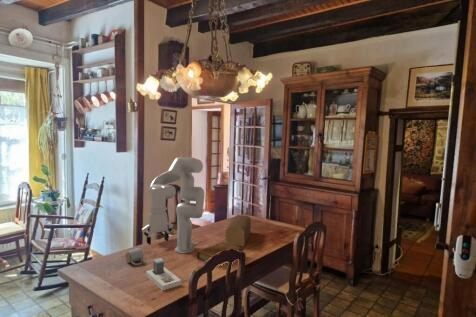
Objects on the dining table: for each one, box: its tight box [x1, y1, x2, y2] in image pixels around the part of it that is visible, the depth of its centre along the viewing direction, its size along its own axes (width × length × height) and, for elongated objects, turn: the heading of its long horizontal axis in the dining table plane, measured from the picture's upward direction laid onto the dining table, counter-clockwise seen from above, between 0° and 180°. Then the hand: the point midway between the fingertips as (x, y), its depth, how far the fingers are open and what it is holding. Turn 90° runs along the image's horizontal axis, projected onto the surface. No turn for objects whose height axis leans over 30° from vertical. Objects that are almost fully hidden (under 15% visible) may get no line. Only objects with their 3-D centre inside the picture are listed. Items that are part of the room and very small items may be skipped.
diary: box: [196, 241, 245, 267], centre depth 190 cm, size 23×19×6 cm
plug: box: [152, 257, 165, 275], centre depth 162 cm, size 4×4×9 cm
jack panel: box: [145, 266, 182, 291], centre depth 158 cm, size 10×20×2 cm, turn 39°
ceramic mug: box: [125, 247, 144, 267], centre depth 179 cm, size 11×8×8 cm
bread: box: [225, 214, 252, 248], centre depth 227 cm, size 14×34×14 cm, turn 170°
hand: (157, 242), depth 161 cm, fingers open, 9 cm apart
